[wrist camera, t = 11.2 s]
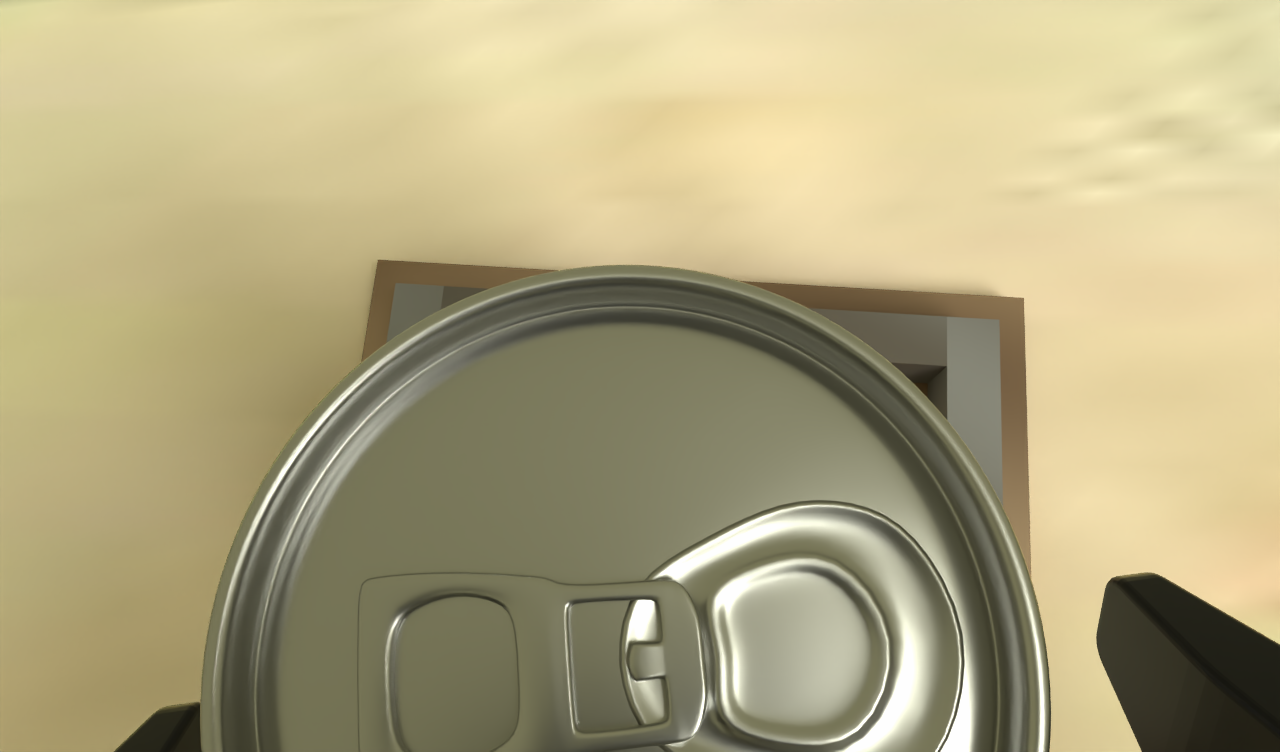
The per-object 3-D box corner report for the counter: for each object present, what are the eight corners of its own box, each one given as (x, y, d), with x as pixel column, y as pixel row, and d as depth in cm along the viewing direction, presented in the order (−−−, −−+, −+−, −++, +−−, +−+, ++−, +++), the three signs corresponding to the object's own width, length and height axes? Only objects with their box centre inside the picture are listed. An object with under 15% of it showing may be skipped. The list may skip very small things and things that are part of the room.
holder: (1031, 1045, 16) (1079, 1106, 14) (276, 959, 17) (224, 1006, 15) (1013, 307, 19) (1050, 274, 17) (386, 269, 20) (355, 234, 18)
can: (848, 783, 17) (1242, 1218, 5) (505, 813, 17) (101, 1302, 5) (802, 443, 18) (1016, 166, 7) (490, 473, 18) (154, 252, 7)
